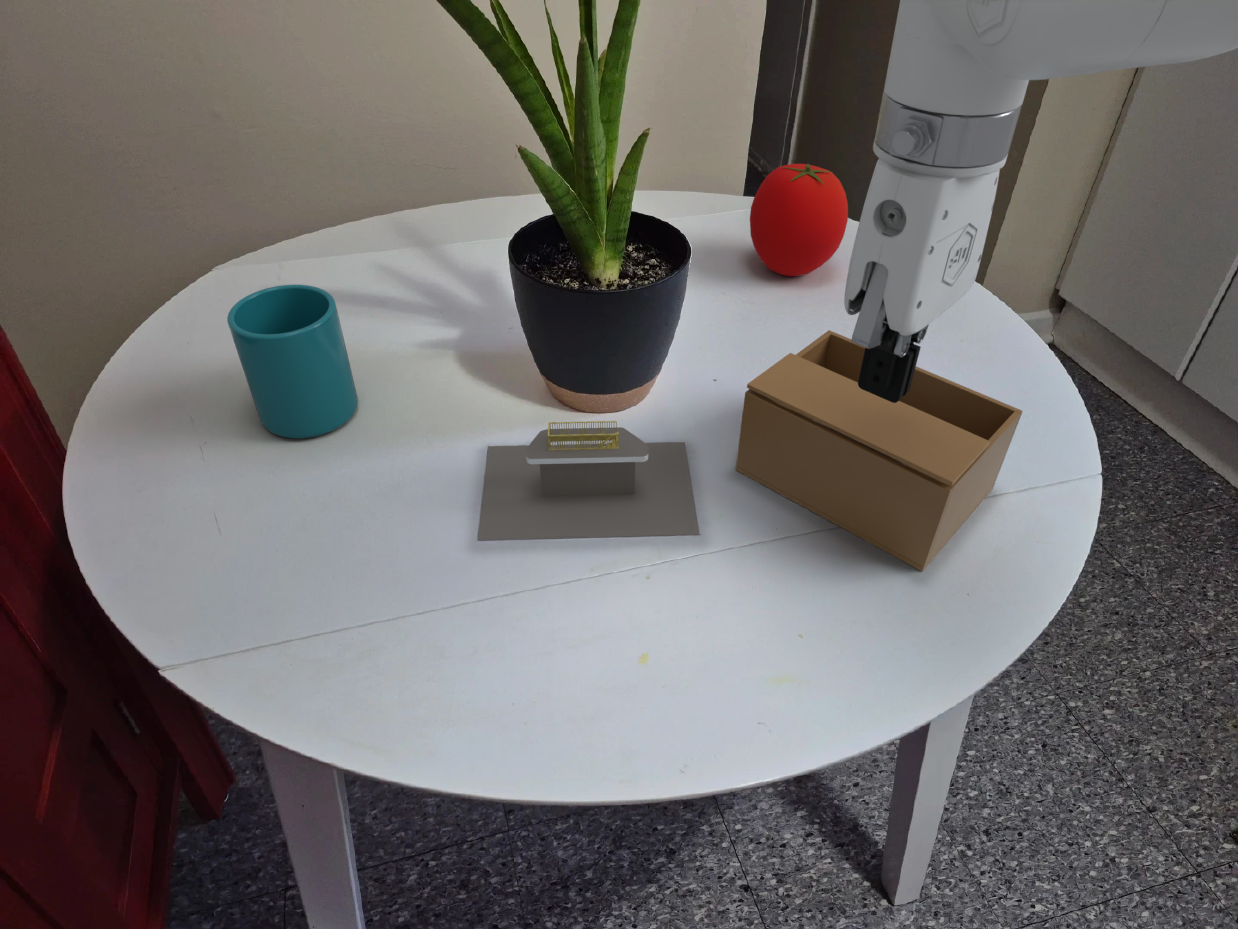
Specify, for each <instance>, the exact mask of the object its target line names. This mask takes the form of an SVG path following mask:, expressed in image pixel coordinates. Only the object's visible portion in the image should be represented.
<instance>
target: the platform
mask: <svg viewBox="0 0 1238 929" xmlns="http://www.w3.org/2000/svg"><path fill="white" fill-rule="evenodd" d="M605 423H606V427H604V424H605ZM613 423H615V426H613ZM563 424H565V426H563ZM579 424H581V427H579ZM588 424H590V427H588ZM597 424H599V427H595V425H597ZM617 424H618V422H617V420H591V421H589V420H588V421H554V422H553V421H548V423H547V428H546V429H543V430H540V431H539V432H538V433H537V434H536V436H535V437H534V438H533V440H532V441H531V442H530V443H529V444H528V445H527V444H526V445H488V446H487V454H486V464H485V473H484V481H483V490H482V498H481V500H482V501H481V507H480V508H481V509H480V516H479V517H480V518H479V526H478V535H477V541H506V540H508V541H509V540H511V541H512V540H547V539H549V540H550V539H583V538H586V539H587V538H590V539H591V538H620V537H621V538H622V537H623V538H624V537H625V538H627V537H628V538H629V537H661V536H662V537H665V536H666V537H667V536H697V535H698V536H699V535H700V534H701V533H700V527H699V522H698V515H697V509H696V502H695V497H694V496H695V495H694V489H693V483H692V477H691V471H690V465H689V458H688V452H687V446H686V441H666V442H665V441H663V442H657V441H656V442H645V441H643V440H642V439H640V438H639V437H637V436H636V435H635V434H633V433H632V432H630V431H629V430H628V429H626V428H624V427H622V426H619V427H618V425H617ZM554 425H556V428H554ZM570 425H572V427H570ZM561 427H563V428H561ZM585 442H586V443H585ZM593 442H594V443H593Z"/></svg>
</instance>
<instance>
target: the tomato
mask: <svg viewBox="0 0 1238 929" xmlns="http://www.w3.org/2000/svg"><path fill="white" fill-rule="evenodd" d="M848 221H849V204H848V199H847V194H846V191H845V189H844V187H843V184H842V182H841V180H840V179H839V178H838V177H837V176H836V175H835V174H834V172H833V171H830V170H828V169H825V168H822V167H819V166H816V165H812V164H809V163H806V164H805V163H789V164H784V165H781V166H778V167H776V168H775V169H774V170H773V171H771V172H770V173H768V174H767V175H766V177H765V178H764V180H762V183H760V186H759V187H758V189H757V191H756V193H755V195H754V197H753V200H752V203H751V206H750V213H749V229H750V230H749V231H750V232H749V233H750V238H751V241H752V245H753V248H754V249H755V252H756V254H757V257H758V258H759V260H760V261H761V262H762V263H763V264H764V265H765V267H766V268H767V269H768V270H770V271H772V272H774V273H776V274H778V275H781V276H785V277H798V276H803V275H808V274H810V273H812V272H814V271H815V270H818V269H819V268H820V267H822V266H823V265H824V264H826V263H827V262H828V261H829V260H830V259H831V258H832V257H833V256H834V255H835V253H836V252H837V250H838V249H839V248H840V245H841V243H842V241H843V239H844V237H845V233H846V229H847V225H848Z"/></svg>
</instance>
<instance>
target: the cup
mask: <svg viewBox="0 0 1238 929" xmlns="http://www.w3.org/2000/svg"><path fill="white" fill-rule="evenodd" d="M226 319H227V325H228V328H229V331H230V334H231V337H232V340H233V344H234V346H235V350H236V352H237V355H238V358H239V362H240V365H241V368H242V371H243V373H244V377H245V379H246V383H247V386H248V389H249V391H250V394H251V398H252V401H253V404H254V407H255V410H256V412H257V415H258V419H259V421H260V423H261V424H262V426H263V427H264V428H265V429H266V430H267V431H268V432H270V433H272V434H274V435H277V436H278V437H282V438H288V439H310V438H315V437H319V436H323V435H326V434H329V433H331V432H333V431H335V430H337V429H339V428H341V427H342V426H343V425H345V424H346V423H348V421H349V420H350V419H351V418H352V417H353V415H354V414H355V412H356V410H357V407H358V403H359V401H358V400H359V399H358V394H357V393H358V392H357V389H356V384H355V381H354V375H353V371H352V368H351V367H352V366H351V363H350V360H349V354H348V351H347V346H346V342H345V338H344V337H345V336H344V333H343V329H342V325H341V321H340V317H339V312H338V308H337V303H336V301H335V298H334V297H333V296H332V295H331V293H329V292H328V291H326V290H325V289H323V288H320V287H318V286H315V285H314V286H313V285H307V284H282V285H276V286H271V287H266V288H264V289H260V290H257V291H255V292H252V293H250V294H247V295H246V296H245V297H243V298H241V299H239V301H237V302H236V303H235V304H234V305H233V306H232V307H231V308H230V310H229V312H228V313H227V318H226Z"/></svg>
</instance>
